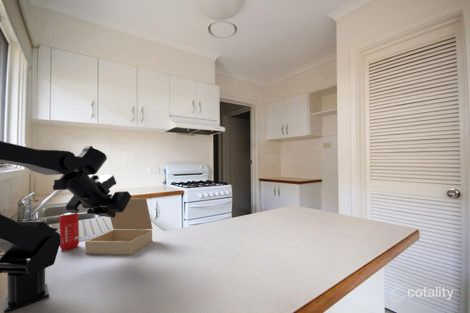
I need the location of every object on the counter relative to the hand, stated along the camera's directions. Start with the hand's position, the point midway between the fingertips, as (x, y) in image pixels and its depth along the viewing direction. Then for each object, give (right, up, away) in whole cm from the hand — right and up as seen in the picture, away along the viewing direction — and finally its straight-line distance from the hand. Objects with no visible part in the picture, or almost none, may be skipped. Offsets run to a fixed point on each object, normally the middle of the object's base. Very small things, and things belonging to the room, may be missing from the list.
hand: (114, 216), depth 70 cm
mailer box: (+1, -11, +2) cm, 11 cm away
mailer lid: (+1, -1, +7) cm, 7 cm away
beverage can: (-18, -12, +4) cm, 22 cm away
